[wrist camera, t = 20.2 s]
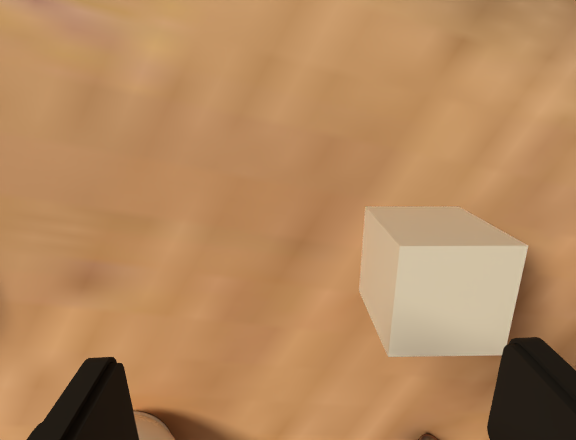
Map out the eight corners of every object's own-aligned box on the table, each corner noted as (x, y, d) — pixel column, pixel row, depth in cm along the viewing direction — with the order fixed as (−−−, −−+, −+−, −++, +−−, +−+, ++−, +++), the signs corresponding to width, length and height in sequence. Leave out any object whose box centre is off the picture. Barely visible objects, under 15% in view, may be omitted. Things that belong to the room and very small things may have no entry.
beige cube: (365, 206, 30) (399, 246, 22) (458, 206, 30) (528, 245, 22) (358, 291, 32) (388, 356, 24) (445, 290, 33) (504, 355, 24)
